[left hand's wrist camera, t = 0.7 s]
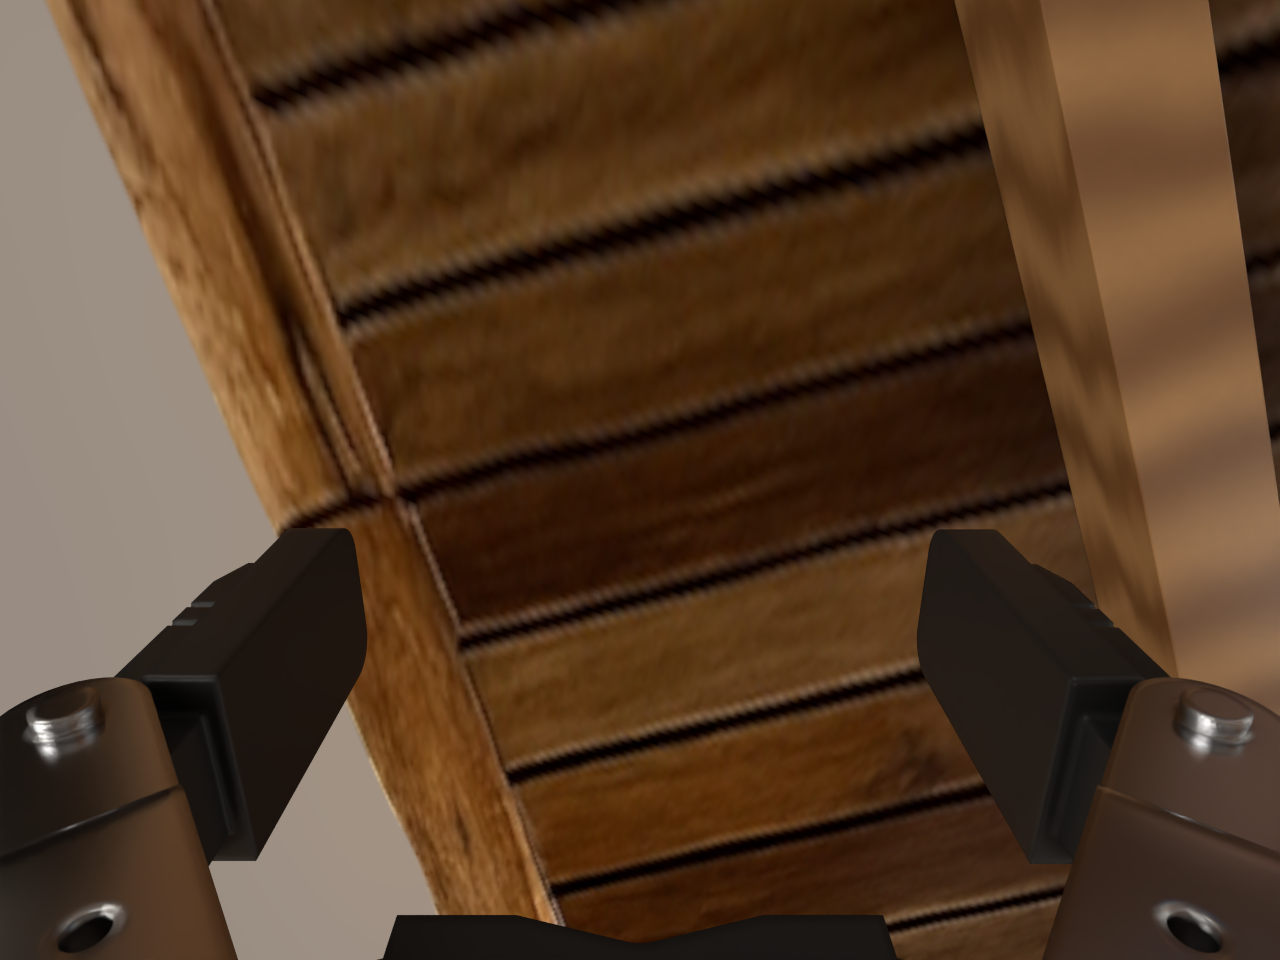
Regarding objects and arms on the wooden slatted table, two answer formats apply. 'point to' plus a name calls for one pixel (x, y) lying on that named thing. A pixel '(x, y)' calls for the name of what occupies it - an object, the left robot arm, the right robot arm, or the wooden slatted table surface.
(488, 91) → the wooden slatted table surface
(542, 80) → the wooden slatted table surface
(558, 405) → the wooden slatted table surface
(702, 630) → the wooden slatted table surface
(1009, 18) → the post
